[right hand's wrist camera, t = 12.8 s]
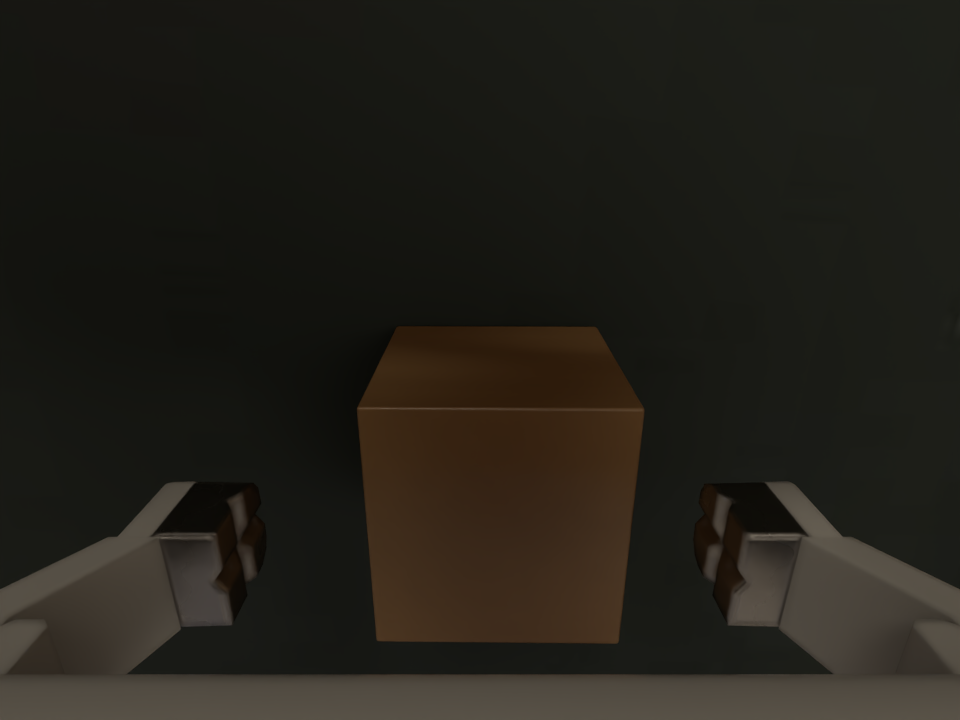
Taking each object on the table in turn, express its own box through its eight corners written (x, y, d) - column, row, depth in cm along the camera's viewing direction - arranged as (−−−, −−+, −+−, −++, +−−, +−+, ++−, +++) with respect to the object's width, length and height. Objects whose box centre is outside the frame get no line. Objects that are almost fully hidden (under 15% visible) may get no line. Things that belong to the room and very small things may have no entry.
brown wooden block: (406, 506, 15) (375, 642, 11) (396, 325, 14) (356, 407, 9) (583, 507, 15) (619, 645, 11) (597, 326, 14) (645, 408, 9)
